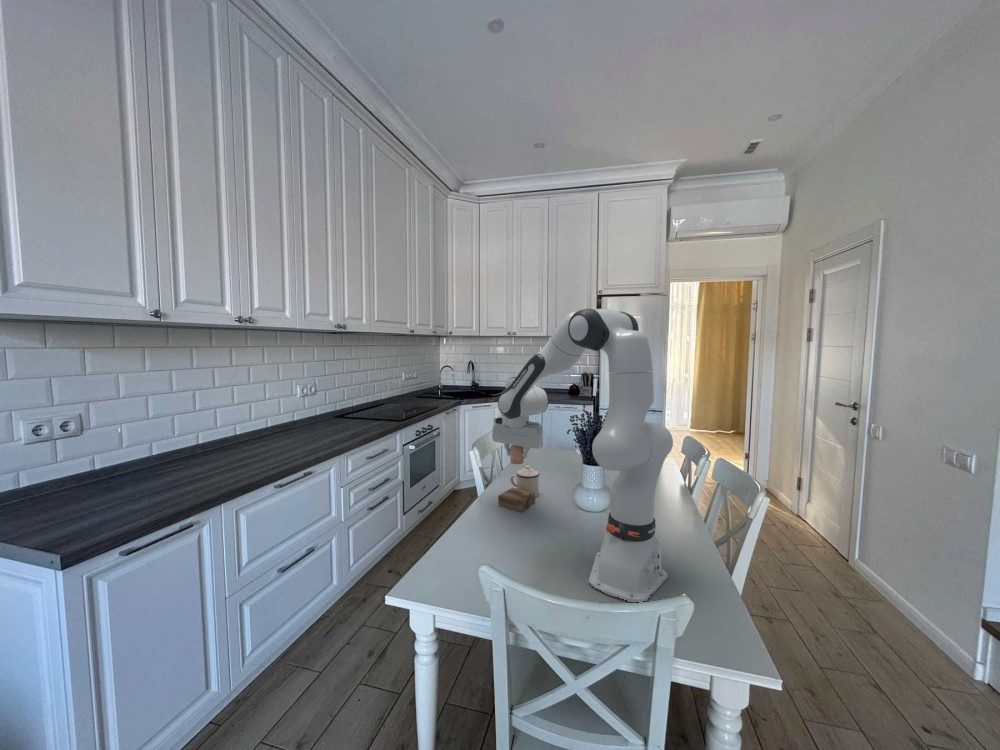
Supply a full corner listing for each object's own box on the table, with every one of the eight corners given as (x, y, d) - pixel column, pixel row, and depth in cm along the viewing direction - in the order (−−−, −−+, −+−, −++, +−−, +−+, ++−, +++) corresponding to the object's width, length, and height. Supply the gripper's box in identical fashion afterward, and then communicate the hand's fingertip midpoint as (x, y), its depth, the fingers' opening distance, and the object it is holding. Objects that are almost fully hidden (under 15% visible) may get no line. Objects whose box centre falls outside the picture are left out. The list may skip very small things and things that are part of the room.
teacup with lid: (542, 492, 160) (542, 464, 159) (534, 500, 152) (534, 470, 151) (515, 487, 166) (515, 460, 165) (506, 495, 157) (506, 466, 156)
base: (521, 512, 141) (521, 500, 141) (498, 506, 147) (498, 495, 146) (534, 503, 150) (534, 492, 149) (512, 497, 155) (512, 486, 155)
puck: (519, 465, 143) (519, 448, 143) (507, 462, 146) (507, 446, 146) (526, 461, 148) (526, 445, 147) (514, 459, 150) (514, 444, 150)
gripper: (546, 421, 143) (545, 459, 144) (499, 415, 154) (499, 450, 155) (538, 424, 137) (537, 463, 138) (489, 418, 148) (489, 454, 149)
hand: (516, 456), depth 147 cm, fingers closed on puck, 5 cm apart
